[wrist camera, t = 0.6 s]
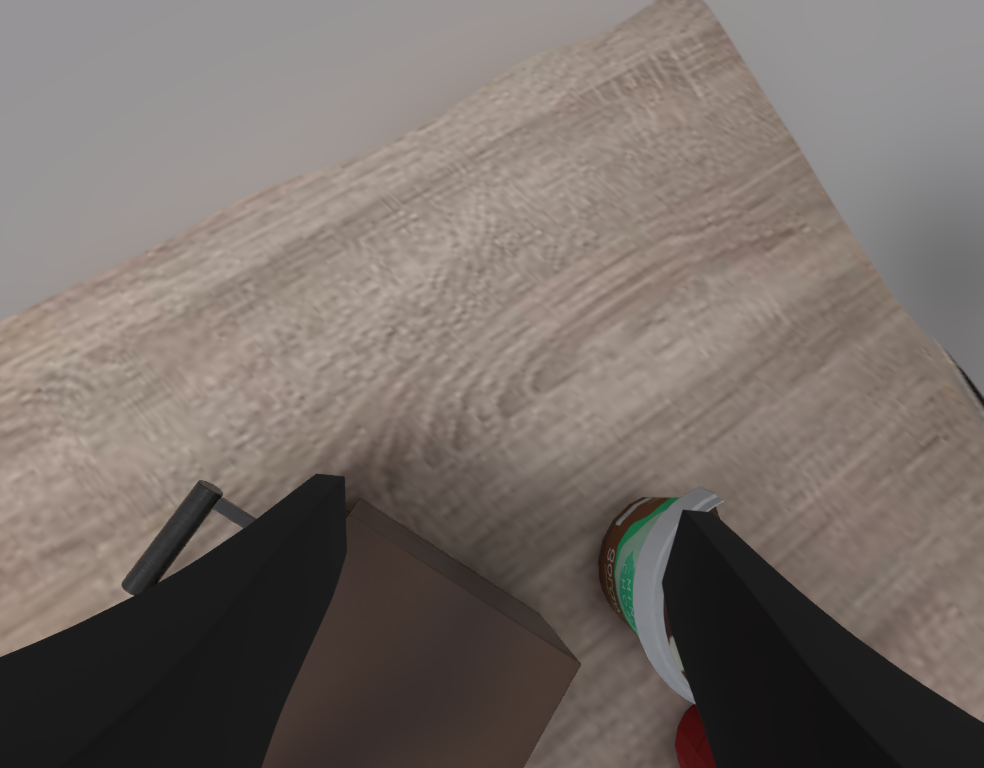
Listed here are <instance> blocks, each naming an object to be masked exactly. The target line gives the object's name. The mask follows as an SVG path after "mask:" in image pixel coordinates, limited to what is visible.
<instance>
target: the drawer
mask: <svg viewBox="0 0 984 768" xmlns="http://www.w3.org/2000/svg"><path fill="white" fill-rule="evenodd" d="M222 496H223V492H222V491H221V490H220V489H219V488H218V487H216V486H215V485H213V484H211V483H209V482H206V481H203V480H199V481H198V482H197V483H196V485H195V486H194V487H193V489H192V490H191V491H190V493H189V494H188V495H187V497H186V498H185V499H184V501H183V502H182V503H181V505H180V506H179V507H178V509H177V510H176V511H175V513H174V514H173V515H172V517H171V518H170V519H169V521H168V522H167V523H166V525H165V526H164V527H163V529H162V530H161V531H160V533H159V534H158V535H157V536H156V538H155V539H154V540H153V542H152V543H151V544H150V546H149V547H148V548H147V550H146V551H145V552H144V554H143V555H142V556H141V558H140V559H139V560H138V562H137V563H136V564H135V566H134V567H133V568H132V570H131V571H130V572H129V574H128V575H127V576H126V578H125V579H124V580H123V582H122V588H123V589H124V590H125V591H126V592H128V593H130V594H132V595H134V596H135V595H137V594H139V593H141V592H143V591H145V590H147V589H148V588H150V587H152V586H154V585H155V584H157V583H158V582H159V581H160V579H161V578H162V577H163V575H164V574H165V573H166V571H167V570H168V569H169V567H170V566H171V565H172V563H173V562H174V560H175V559H176V558H177V556H178V555H179V554H180V552H181V551H182V550H183V548H184V547H185V546H186V544H187V543H188V542H189V540H190V539H191V538H192V536H193V535H194V533H195V532H196V531H197V529H198V528H199V527H200V525H201V524H202V523H203V521H204V520H205V519H206V517H207V516H208V515H209V513H210V512H211V510H212V509H214V510H216V511H217V512H219V513H220V514H222V515H224V516H225V517H227V518H228V519H230V520H231V521H233V522H235V523H236V524H238V525H239V526H241V527H243V528H245V527H247V526H248V525H249V524H251V523H252V522H253V521H255V520H256V518H255V517H253V516H251V515H250V514H248V513H247V512H245V511H243V510H242V509H240V508H239V507H237V506H235V505H234V504H232V503H231V502H229V501H228V500H226V499H224V498H221V497H222ZM349 514H350V513H348V512H346V519H347V517H348V515H349Z"/></svg>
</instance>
